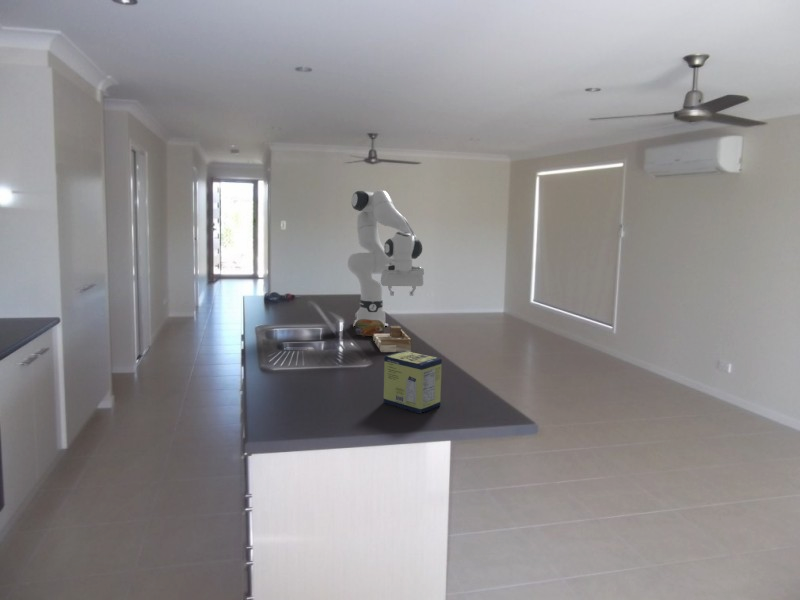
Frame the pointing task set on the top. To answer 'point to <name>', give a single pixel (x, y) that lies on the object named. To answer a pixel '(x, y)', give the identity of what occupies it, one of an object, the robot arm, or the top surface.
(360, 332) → the tin
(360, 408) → the top surface
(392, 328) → the walnut block
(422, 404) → the protein box
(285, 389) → the top surface
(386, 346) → the board
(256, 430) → the top surface
